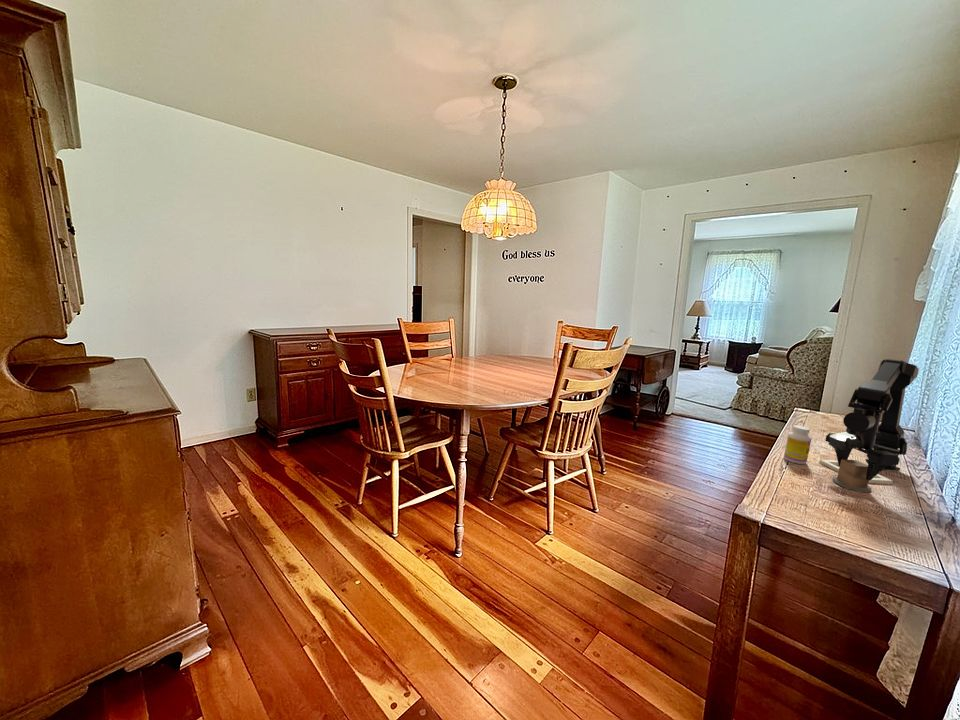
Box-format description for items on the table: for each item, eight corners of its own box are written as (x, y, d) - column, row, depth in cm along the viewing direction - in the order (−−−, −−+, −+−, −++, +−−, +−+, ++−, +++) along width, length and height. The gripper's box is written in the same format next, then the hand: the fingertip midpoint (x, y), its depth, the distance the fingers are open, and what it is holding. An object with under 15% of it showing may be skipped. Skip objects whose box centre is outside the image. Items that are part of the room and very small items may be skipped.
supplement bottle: (807, 466, 137) (814, 432, 135) (783, 461, 141) (790, 427, 139) (805, 460, 142) (812, 427, 140) (783, 455, 146) (789, 423, 144)
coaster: (852, 479, 128) (852, 477, 128) (879, 493, 119) (880, 491, 119) (825, 477, 128) (825, 476, 128) (850, 491, 119) (850, 489, 119)
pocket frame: (849, 464, 141) (850, 461, 141) (891, 484, 126) (892, 480, 126) (819, 462, 141) (819, 459, 141) (858, 482, 126) (858, 478, 126)
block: (852, 480, 126) (856, 460, 125) (867, 487, 121) (872, 466, 120) (836, 479, 126) (841, 459, 125) (851, 486, 121) (855, 466, 120)
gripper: (813, 415, 130) (804, 459, 132) (868, 436, 111) (856, 486, 114) (847, 417, 130) (837, 461, 132) (906, 438, 111) (894, 488, 114)
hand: (854, 473), depth 123 cm, fingers open, 9 cm apart
